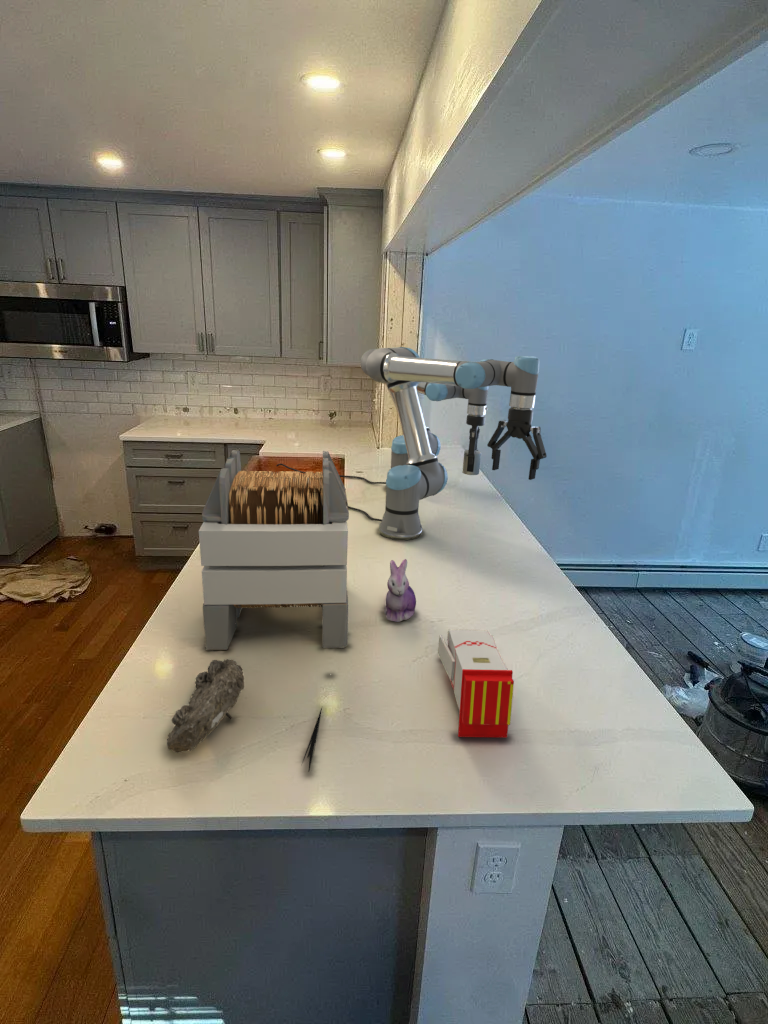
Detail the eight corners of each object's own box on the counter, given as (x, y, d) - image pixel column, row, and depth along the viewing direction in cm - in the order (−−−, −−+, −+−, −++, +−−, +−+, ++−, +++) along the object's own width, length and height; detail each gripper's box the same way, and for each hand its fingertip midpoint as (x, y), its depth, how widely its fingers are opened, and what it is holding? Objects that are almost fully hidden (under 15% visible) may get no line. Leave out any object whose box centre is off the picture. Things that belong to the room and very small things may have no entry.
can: (459, 471, 241) (460, 450, 238) (471, 469, 245) (473, 449, 242) (469, 476, 236) (471, 454, 233) (482, 474, 239) (484, 453, 236)
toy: (488, 613, 130) (523, 677, 101) (484, 667, 133) (517, 744, 104) (435, 612, 130) (455, 676, 101) (432, 666, 133) (451, 743, 103)
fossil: (192, 660, 117) (244, 628, 112) (224, 691, 120) (276, 661, 115) (142, 746, 98) (202, 712, 93) (182, 779, 101) (242, 748, 96)
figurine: (392, 627, 141) (395, 572, 136) (374, 608, 149) (376, 556, 144) (425, 619, 145) (429, 566, 140) (405, 601, 154) (408, 550, 149)
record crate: (226, 583, 159) (217, 441, 145) (342, 582, 163) (345, 443, 149) (203, 652, 127) (189, 478, 114) (348, 648, 131) (352, 480, 117)
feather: (331, 679, 122) (336, 673, 122) (307, 777, 96) (313, 769, 95) (324, 675, 122) (329, 669, 121) (298, 772, 95) (304, 764, 95)
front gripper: (564, 413, 170) (554, 481, 177) (494, 401, 186) (487, 464, 193) (551, 415, 164) (541, 485, 172) (481, 403, 181) (474, 467, 188)
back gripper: (483, 420, 222) (477, 476, 230) (487, 412, 240) (481, 464, 248) (464, 418, 224) (459, 474, 231) (469, 410, 242) (464, 462, 250)
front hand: (513, 474), depth 182 cm, fingers open, 13 cm apart
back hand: (470, 469), depth 240 cm, fingers closed on can, 7 cm apart
